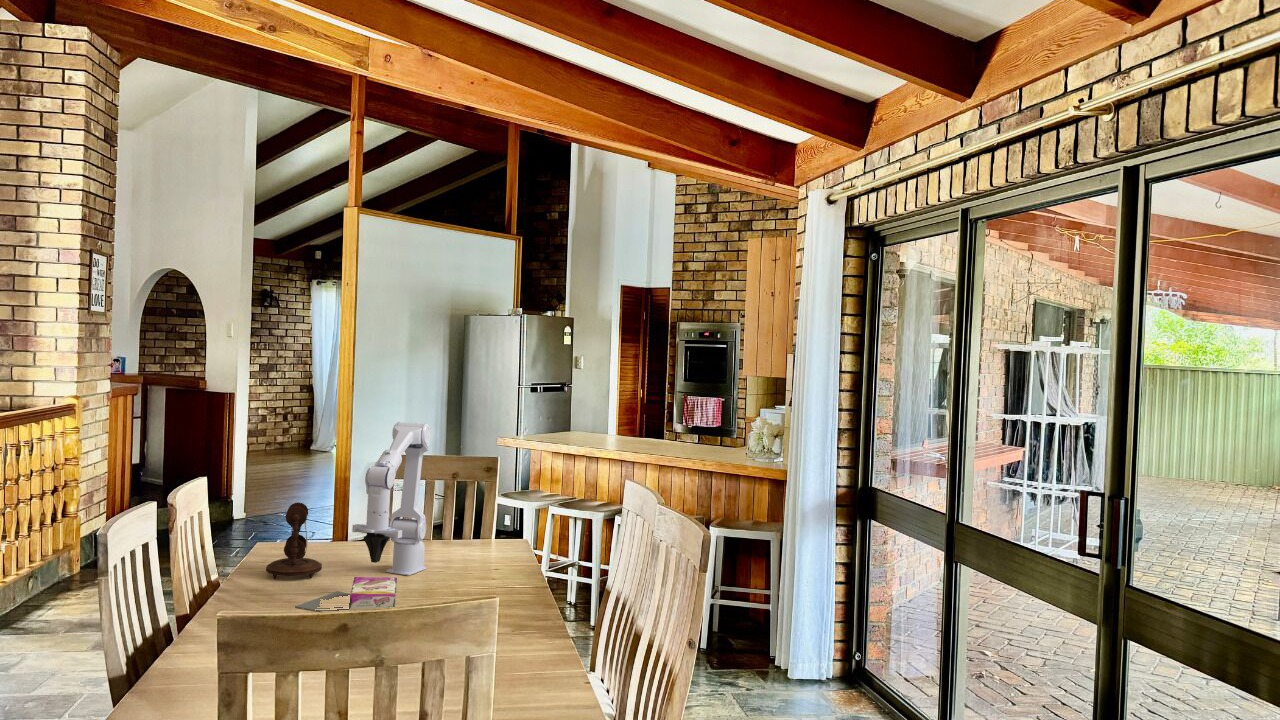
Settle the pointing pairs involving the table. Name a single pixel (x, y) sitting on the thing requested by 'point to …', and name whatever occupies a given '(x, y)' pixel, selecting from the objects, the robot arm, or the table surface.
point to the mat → (315, 603)
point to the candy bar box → (373, 592)
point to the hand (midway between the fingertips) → (375, 561)
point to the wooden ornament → (295, 548)
